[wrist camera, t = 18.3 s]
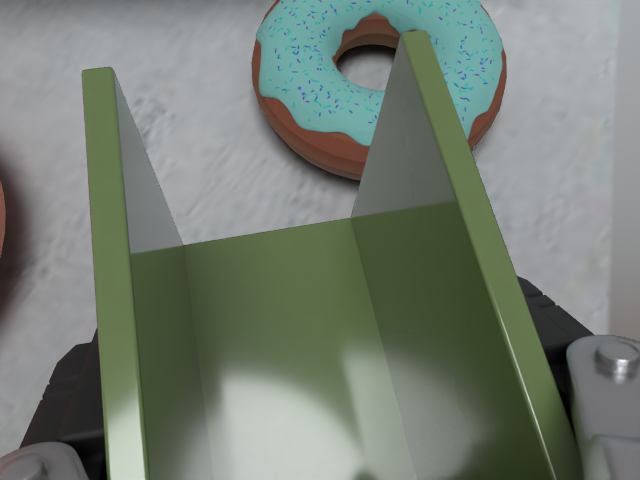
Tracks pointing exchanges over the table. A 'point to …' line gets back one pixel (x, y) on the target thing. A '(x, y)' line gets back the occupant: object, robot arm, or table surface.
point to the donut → (358, 102)
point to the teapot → (2, 218)
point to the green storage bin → (321, 318)
